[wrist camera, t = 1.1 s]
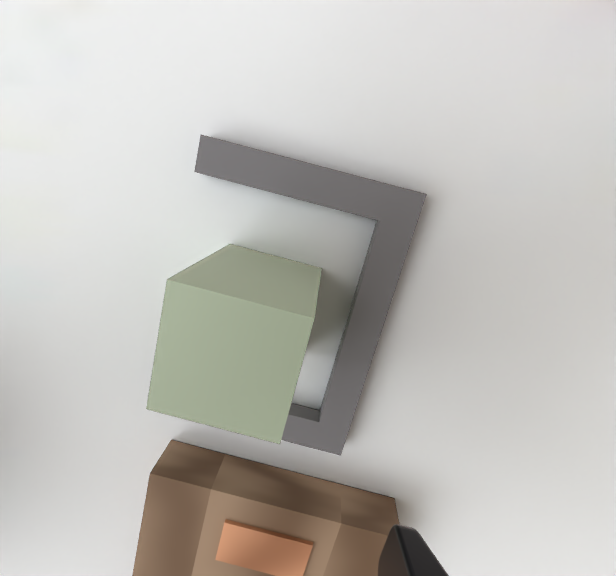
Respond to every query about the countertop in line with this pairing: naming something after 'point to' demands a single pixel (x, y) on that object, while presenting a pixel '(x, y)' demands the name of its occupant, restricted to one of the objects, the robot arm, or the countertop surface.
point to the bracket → (373, 280)
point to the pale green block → (234, 341)
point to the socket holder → (255, 520)
